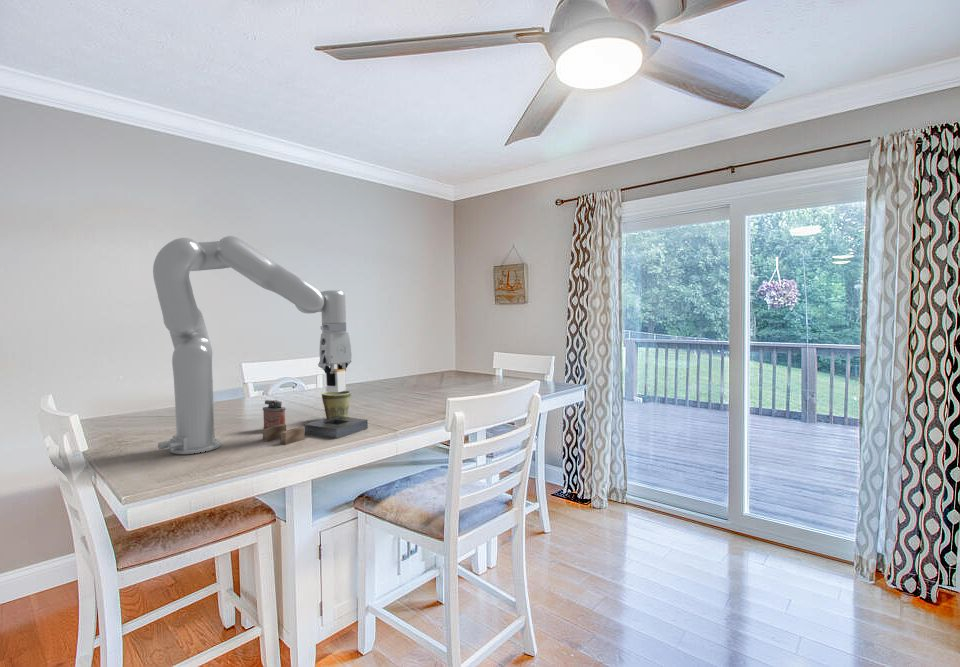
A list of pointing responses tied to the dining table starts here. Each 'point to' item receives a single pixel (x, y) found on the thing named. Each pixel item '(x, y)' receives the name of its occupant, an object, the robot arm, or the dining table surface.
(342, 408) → the green plant pot
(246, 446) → the dining table surface
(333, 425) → the port block
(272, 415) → the lighter
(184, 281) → the robot arm
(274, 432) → the holster
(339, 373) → the white orange-topped block
